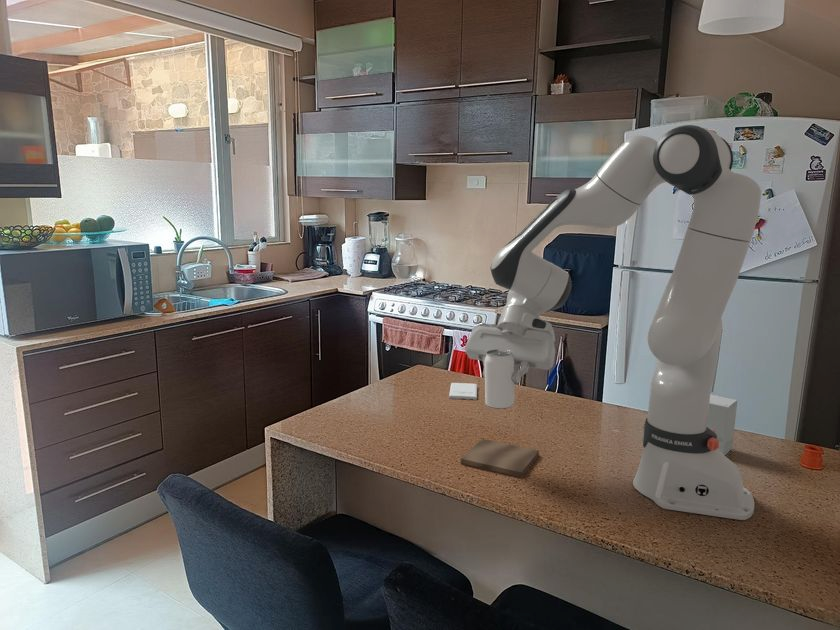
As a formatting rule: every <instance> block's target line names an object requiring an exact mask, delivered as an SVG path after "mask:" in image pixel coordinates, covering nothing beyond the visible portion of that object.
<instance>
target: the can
mask: <svg viewBox="0 0 840 630" xmlns="http://www.w3.org/2000/svg"><path fill="white" fill-rule="evenodd" d="M498 350H499V349H498ZM506 351H508V352H502V351H497V350H490V351H487V352H486V353H487V355H486V357H485V377H484V400H485V403H484V404H485V405H486V406H487V407H488V408H491V409H496V410H505V409H510V408H512V407H513V406H514V405H515V382H513V380H512V376H513V372H515V365H514V358H513V356H512V352H511V351H509V350H506Z"/></svg>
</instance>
